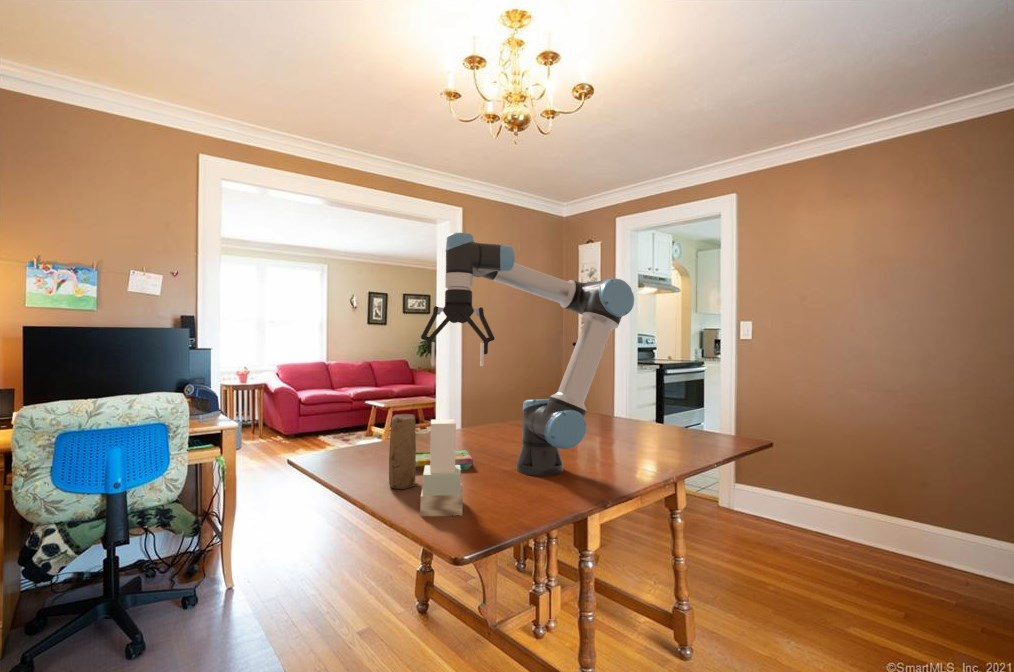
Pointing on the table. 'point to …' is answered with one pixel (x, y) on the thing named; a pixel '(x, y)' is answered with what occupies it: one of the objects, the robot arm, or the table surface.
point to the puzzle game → (460, 459)
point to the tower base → (441, 505)
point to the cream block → (443, 446)
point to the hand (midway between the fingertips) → (457, 366)
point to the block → (402, 451)
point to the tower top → (441, 482)
